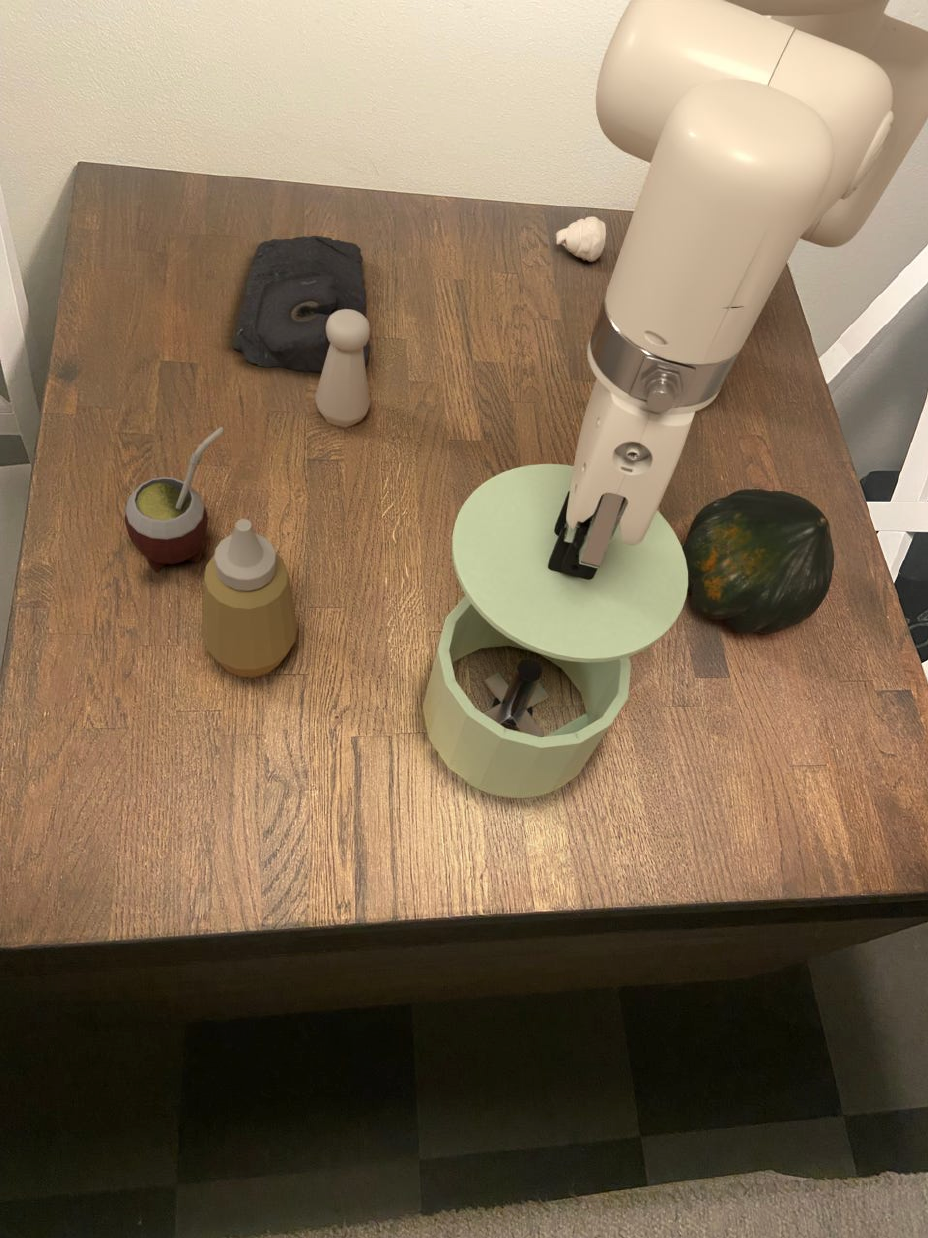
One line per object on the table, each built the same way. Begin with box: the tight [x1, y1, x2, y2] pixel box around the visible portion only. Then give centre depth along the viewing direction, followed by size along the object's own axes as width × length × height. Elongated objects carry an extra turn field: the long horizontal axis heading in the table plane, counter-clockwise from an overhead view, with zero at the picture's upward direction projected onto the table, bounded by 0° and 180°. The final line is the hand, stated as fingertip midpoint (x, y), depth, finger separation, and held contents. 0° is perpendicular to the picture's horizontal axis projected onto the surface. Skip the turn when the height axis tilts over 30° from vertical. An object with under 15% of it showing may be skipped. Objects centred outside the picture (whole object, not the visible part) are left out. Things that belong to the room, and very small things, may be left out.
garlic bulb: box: [555, 216, 607, 263], centre depth 120 cm, size 6×6×5 cm
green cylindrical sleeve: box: [422, 594, 632, 799], centre depth 78 cm, size 16×16×10 cm
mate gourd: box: [124, 425, 225, 574], centre depth 80 cm, size 8×8×15 cm
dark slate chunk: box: [232, 235, 371, 374], centre depth 106 cm, size 15×22×5 cm
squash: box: [681, 488, 835, 634], centre depth 90 cm, size 14×15×15 cm
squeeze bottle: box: [200, 518, 298, 678], centre depth 75 cm, size 8×8×18 cm
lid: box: [451, 463, 688, 663], centre depth 62 cm, size 17×17×7 cm
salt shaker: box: [314, 309, 371, 429], centre depth 94 cm, size 6×6×13 cm
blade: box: [482, 657, 550, 737], centre depth 79 cm, size 7×7×8 cm
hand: (573, 552), depth 63 cm, fingers closed on lid, 2 cm apart
